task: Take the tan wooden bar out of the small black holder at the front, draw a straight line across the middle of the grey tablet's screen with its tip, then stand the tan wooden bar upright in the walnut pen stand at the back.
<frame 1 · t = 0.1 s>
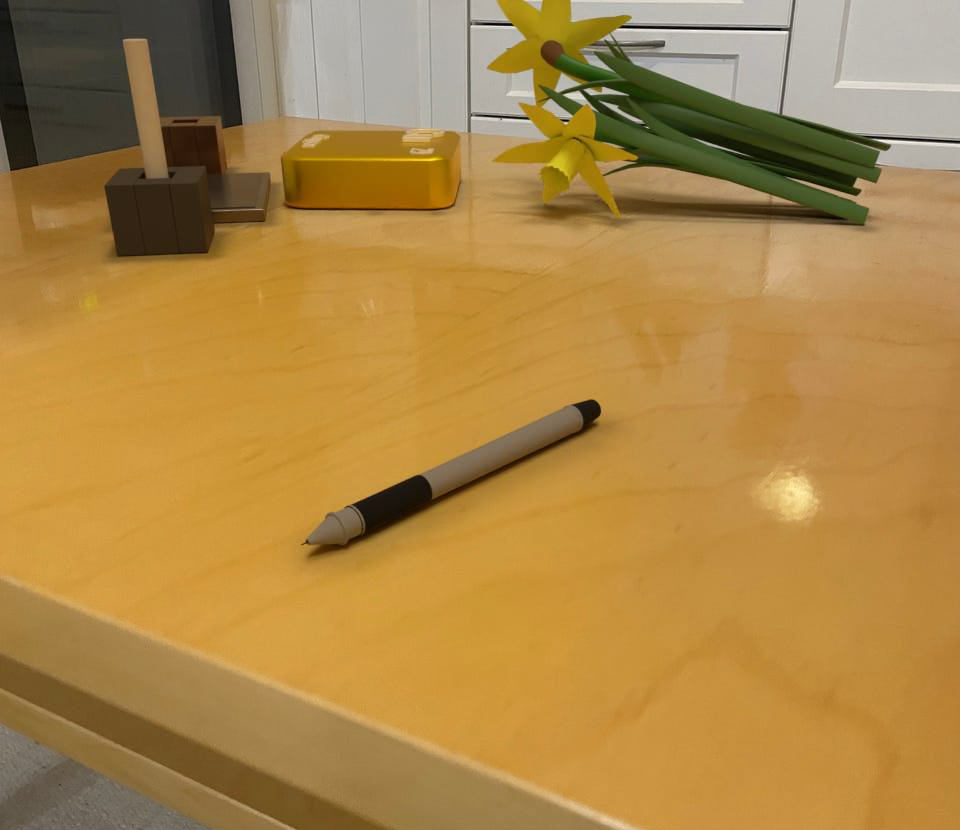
pen: (469, 483, 39), on the table
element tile: (378, 194, 88), on the table
tablet: (199, 202, 84), on the table
tan wooden bar: (152, 146, 68), in the holder
holder: (168, 243, 72), on the table
daffodil flowers: (674, 210, 82), on the table
stand: (192, 173, 95), on the table
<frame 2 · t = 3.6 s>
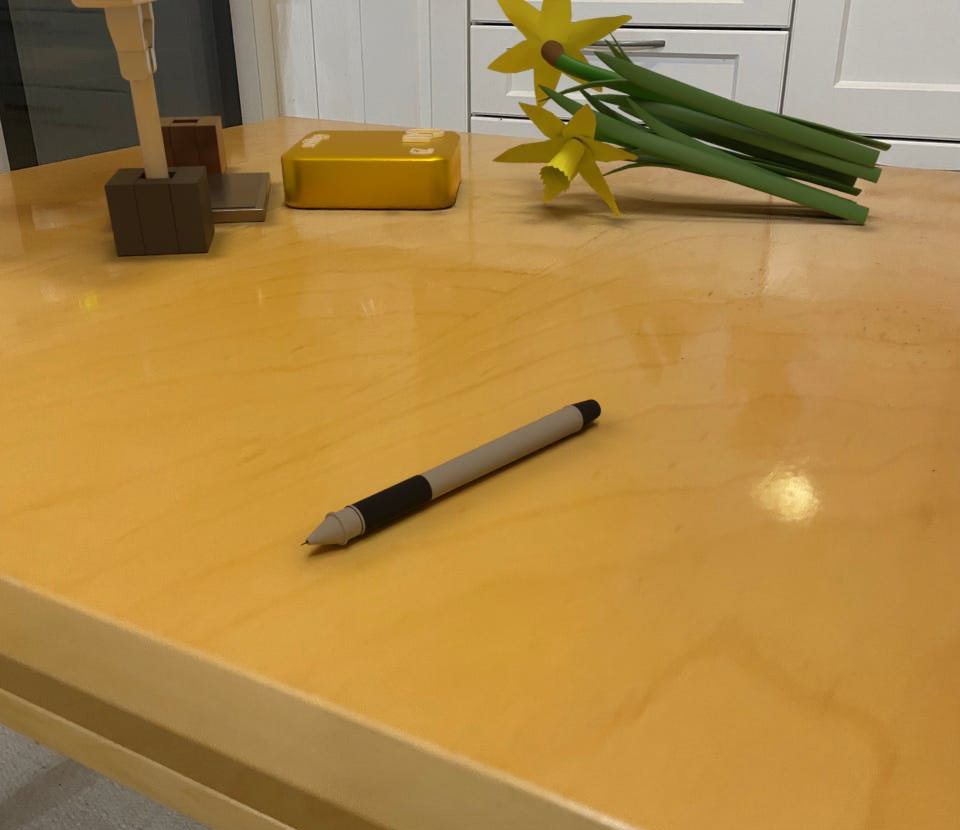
hand: (140, 77, 66), 12 cm above the table, tool pointing down, fingers closed on tan wooden bar, 1 cm apart
tan wooden bar: (152, 146, 68), in the holder, touching gripper
everything else where it was.
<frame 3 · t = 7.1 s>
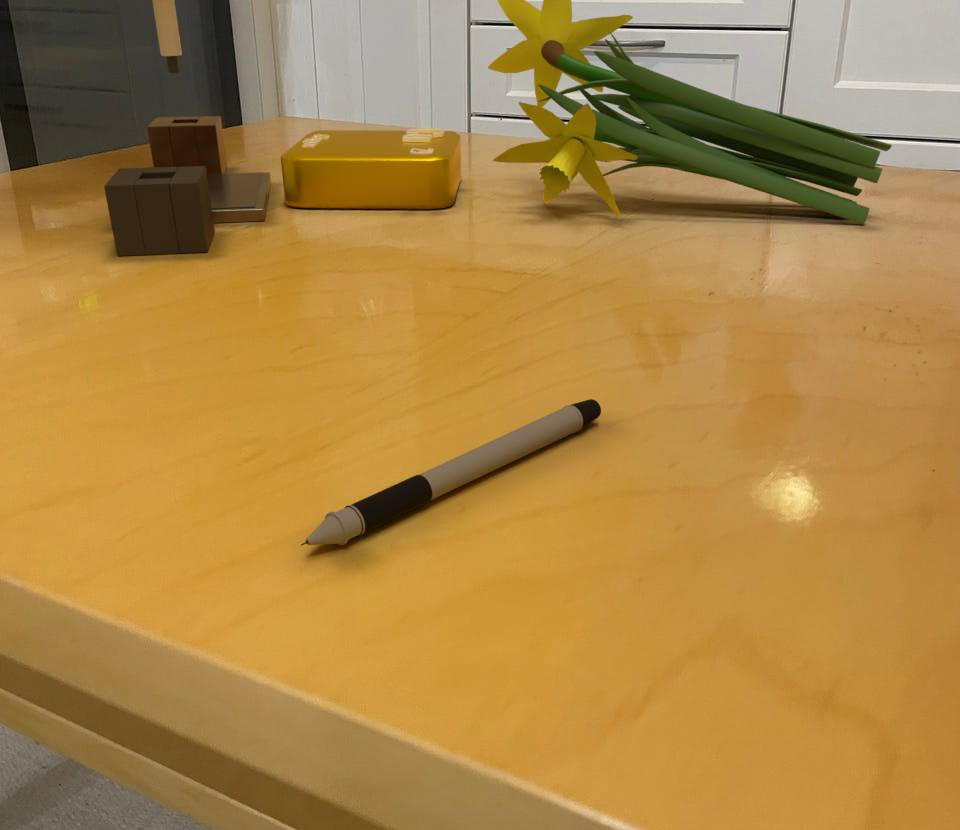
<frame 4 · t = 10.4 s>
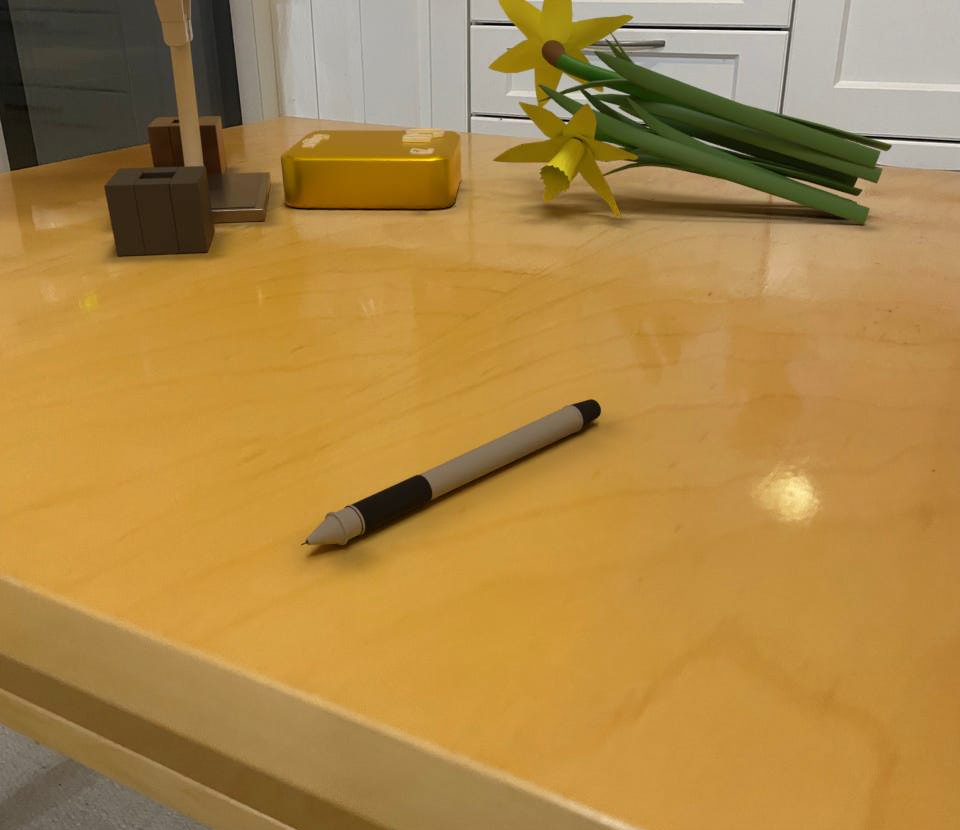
hand: (179, 44, 79), 13 cm above the table, tool pointing down, fingers closed on tan wooden bar, 2 cm apart
tan wooden bar: (187, 105, 80), point 8 cm above the table, tilted 12°, touching gripper, tablet
everything else where it was.
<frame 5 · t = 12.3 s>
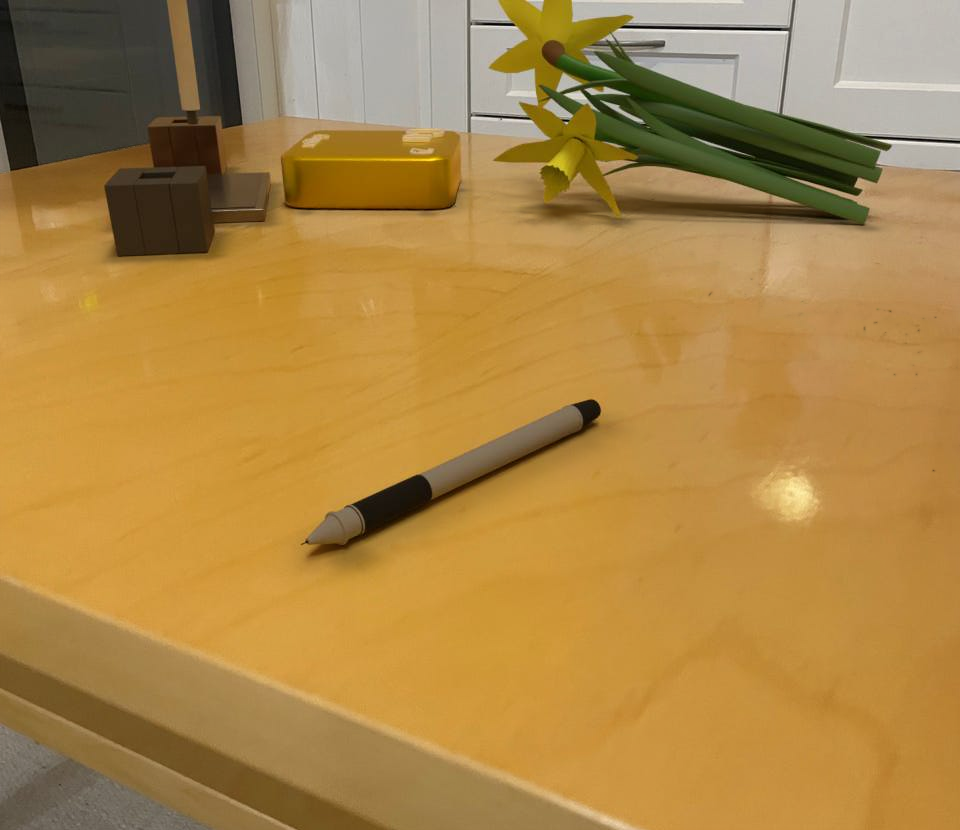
tan wooden bar: (181, 38, 82), point 13 cm above the table, touching gripper
everything else where it was.
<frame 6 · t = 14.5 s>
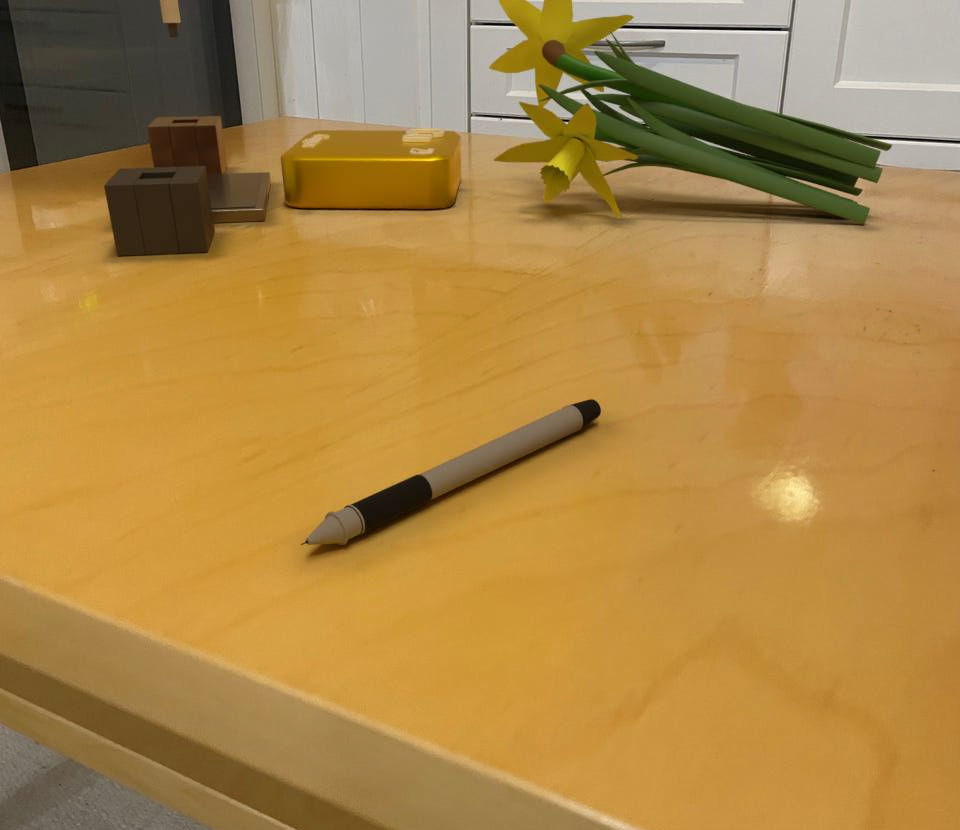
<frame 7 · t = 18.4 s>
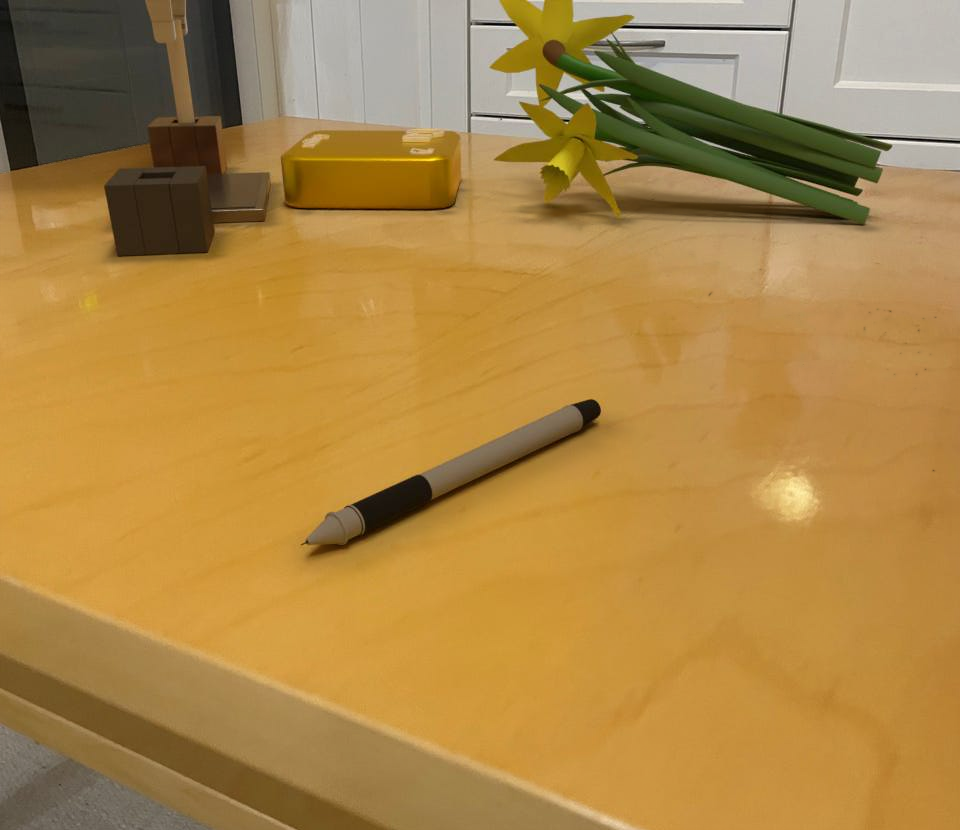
hand: (172, 39, 89), 12 cm above the table, tool pointing down, fingers open, 8 cm apart
tan wooden bar: (183, 99, 92), in the stand
everything else where it was.
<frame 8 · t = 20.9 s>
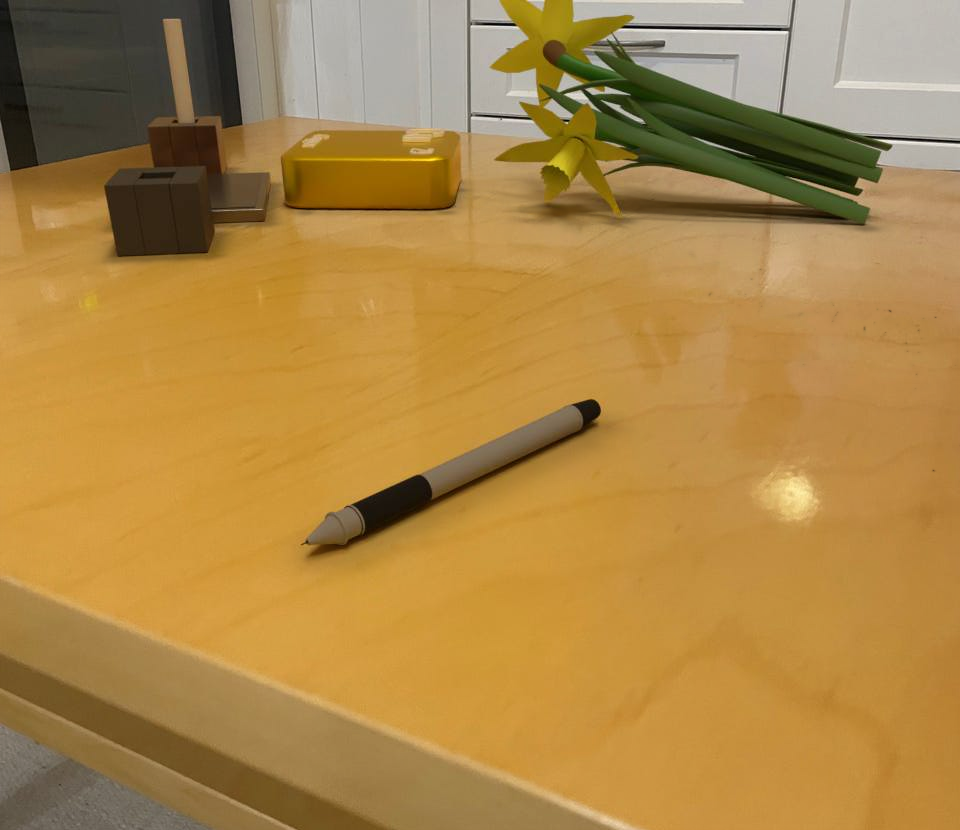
nothing on the table moved.
at the end: tan wooden bar 0.1 cm off-centre in the stand, point 7.0 cm above the stand's base; tan wooden bar tilted 0°; the gripper is holding nothing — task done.
